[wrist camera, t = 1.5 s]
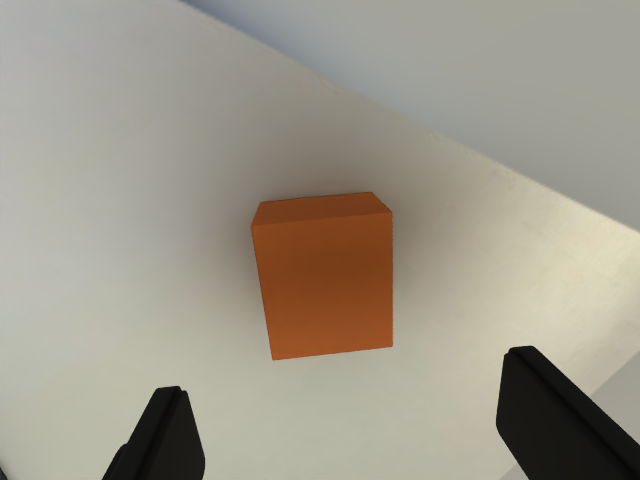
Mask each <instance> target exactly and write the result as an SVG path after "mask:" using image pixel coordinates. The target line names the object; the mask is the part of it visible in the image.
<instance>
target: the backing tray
mask: <svg viewBox="0 0 640 480" xmlns="http://www.w3.org/2000/svg"><path fill="white" fill-rule="evenodd" d="M0 480H6V478H5V477H4V475H3V473H2V472H1V470H0Z"/></svg>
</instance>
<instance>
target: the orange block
mask: <svg viewBox="0 0 640 480" xmlns="http://www.w3.org/2000/svg"><path fill="white" fill-rule="evenodd" d="M251 230H252V237H253V243H254V249H255V255H256V261H257V268H258V274H259V280H260V286H261V293H262V299H263V305H264V311H265V318H266V324H267V330H268V336H269V342H270V349H271V355H272V360H281V359H290V358H299V357H307V356H316V355H325V354H334V353H342V352H351V351H360V350H369V349H378V348H386V347H392V346H393V263H392V211H391V210H390V209H389V208H388V207H387V206H386V205H384V204H383V203H382V202H381V201H380V200H379V199H378V198H377V197H376V196H375V195H374V194H373V193H372V192H366V193H356V194H345V195H335V196H324V197H314V198H303V199H292V200H282V201H271V202H261V203H260V204H259V207H258V209H257V212H256V215H255V217H254V220H253V222H252V225H251Z"/></svg>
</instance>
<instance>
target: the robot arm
mask: <svg viewBox="0 0 640 480" xmlns="http://www.w3.org/2000/svg"><path fill="white" fill-rule="evenodd" d="M496 427H497V430H498V432H499V434H500V436H501V438H502V439H503V441H504V442H505V444H506V445H507V447H508V448H509V450H510V451H511V453H512V454H513V456H514V457H515V459H516V460H517V462H518V464H519V465H520V467H521V468H522V470H523V471H524V473H525V474H526V476H527V477H528V479H529V480H640V445H639V444H638V443H637V442H636V441H635V440H634V439H633V438H632V437H631V436H629V435H628V434H627V433H626V432H625V431H624V430H623V429H622V428H621V427H620V426H619V425H618V424H617V423H616V422H614V421H613V420H612V419H611V418H610V417H609V416H608V415H607V414H606V413H605V412H604V411H602V409H601V408H599V407H598V406H597V405H596V404H595V403H594V402H593V401H592V400H591V399H590V398H589V397H588V396H587V395H586V394H584V393H583V392H582V391H581V390H580V389H579V388H578V387H577V386H576V385H575V384H574V383H573V382H572V381H571V380H570V379H568V378H567V377H566V376H565V375H564V374H563V373H562V372H561V371H560V370H559V369H558V368H557V367H556V366H555V365H553V364H552V363H551V362H550V361H549V360H548V359H547V358H546V357H545V356H544V355H543V354H542V353H541V352H540V351H538V350H537V349H536V348H535V347H534V346H521V347H513V348H510V349H509V352H508V353H507V354H505V355H504V360H503V368H502V376H501V384H500V392H499V399H498V407H497V415H496ZM204 470H205V456H204V452H203V448H202V445H201V441H200V437H199V434H198V430H197V426H196V423H195V419H194V415H193V412H192V408H191V404H190V401H189V397H188V393H187V391H185V390H184V391H182V390H181V388H180V387H179V386H171V387H163V388H157V389H156V390H155V392H154V393H153V395H152V397H151V399H150V401H149V403H148V405H147V407H146V408H145V410H144V412H143V414H142V416H141V418H140V420H139V422H138V424H137V426H136V427H135V429H134V431H133V433H132V435H131V437H130V439H129V441H128V443H126V444H124V445H123V446H121V447H120V448H119V450H118V451H117V453H116V454H115V456H114V458H113V460H112V462H111V464H110V466H109V467H108V469H107V471H106V473H105V475H104V477H103V478H102V480H202V479H203V475H204Z"/></svg>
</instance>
